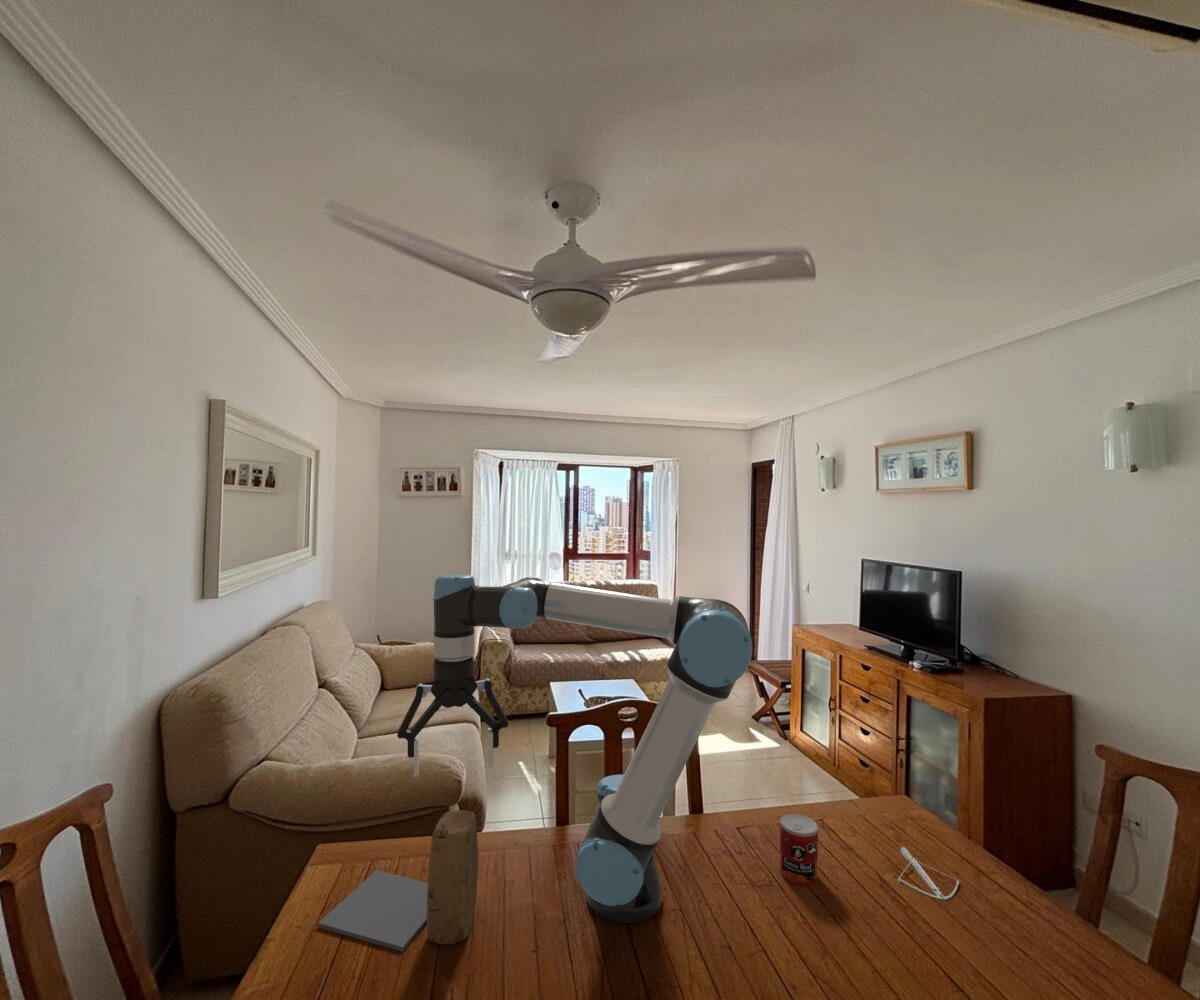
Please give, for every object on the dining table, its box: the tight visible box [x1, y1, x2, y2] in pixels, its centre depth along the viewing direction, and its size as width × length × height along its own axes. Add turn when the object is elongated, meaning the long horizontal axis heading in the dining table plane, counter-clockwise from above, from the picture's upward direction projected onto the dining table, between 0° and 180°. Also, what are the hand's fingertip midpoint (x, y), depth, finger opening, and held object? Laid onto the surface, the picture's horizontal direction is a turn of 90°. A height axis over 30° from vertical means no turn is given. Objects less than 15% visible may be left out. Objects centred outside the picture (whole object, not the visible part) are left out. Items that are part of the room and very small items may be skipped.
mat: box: [317, 869, 428, 953], centre depth 109 cm, size 18×16×1 cm
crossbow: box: [897, 846, 960, 901], centre depth 124 cm, size 16×13×2 cm
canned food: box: [779, 813, 819, 886], centre depth 122 cm, size 8×8×11 cm
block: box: [426, 809, 479, 946], centre depth 105 cm, size 11×8×20 cm
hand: (454, 769), depth 108 cm, fingers open, 13 cm apart
